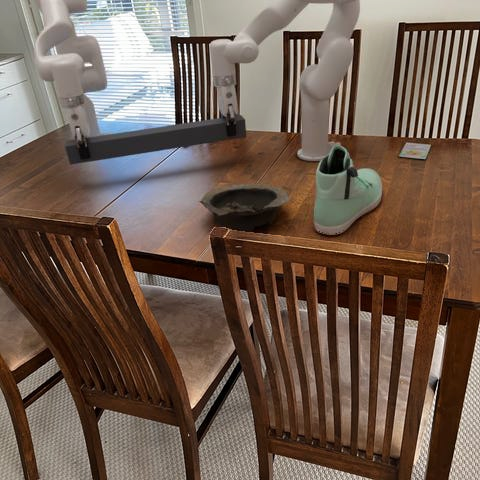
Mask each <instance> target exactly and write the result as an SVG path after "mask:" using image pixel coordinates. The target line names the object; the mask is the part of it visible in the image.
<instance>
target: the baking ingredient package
mask: <svg viewBox="0 0 480 480" xmlns="http://www.w3.org/2000/svg"><path fill="white" fill-rule="evenodd" d="M431 146H432V144H426V143H415V142H406V143H405V144H404V146H403V148H402V149H401V151H400V153H399V155H398V156H399V157H401V158H410V159H420V160H422V159H423V160H426V159H427V157H428V154H429V152H430V149H431Z"/></svg>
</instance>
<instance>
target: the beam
mask: <svg viewBox="0 0 480 480" xmlns="http://www.w3.org/2000/svg"><path fill="white" fill-rule="evenodd" d="M234 116H235V124H236V136H230V137H228V136H227V129H226V125H227V122H226V117H224V118H222V117H218V118H211V119H205V120H199V121H198V120H197V121H191V122H184V123H177V124H172V125H163V126H157V127H151V128H143V129H137V130H130V131H123V132H117V133H111V134H109V135H102V136H96V137H89V138H86V143H87V146H88V148H89V152H90V156H91V158H89V159H83V160H81V159H80V155H79V151H78V145H77V140H76V139H69V140H66V141H65V145H64V148H65V152H66V155H67V159H68V162H69V165H70V166H71V165H77V164H83V163H90V162H96V161H97V162H98V161H103V160H110V159H114V158H122V157H123V158H124V157H128V156H134V155H135V156H136V155H141V154H148V153H154V152H160V151H166V150H173V149H179V148H187V147H193V146H199V145H205V144H210V143H217V142H224V141H230V140H231V141H232V140H236V139H245V138H247V124H246V119H245V117H244V116H243V115H241V114H238V115H234ZM229 119H230V118H228V120H229ZM82 141H84V139H83V140H82Z"/></svg>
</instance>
